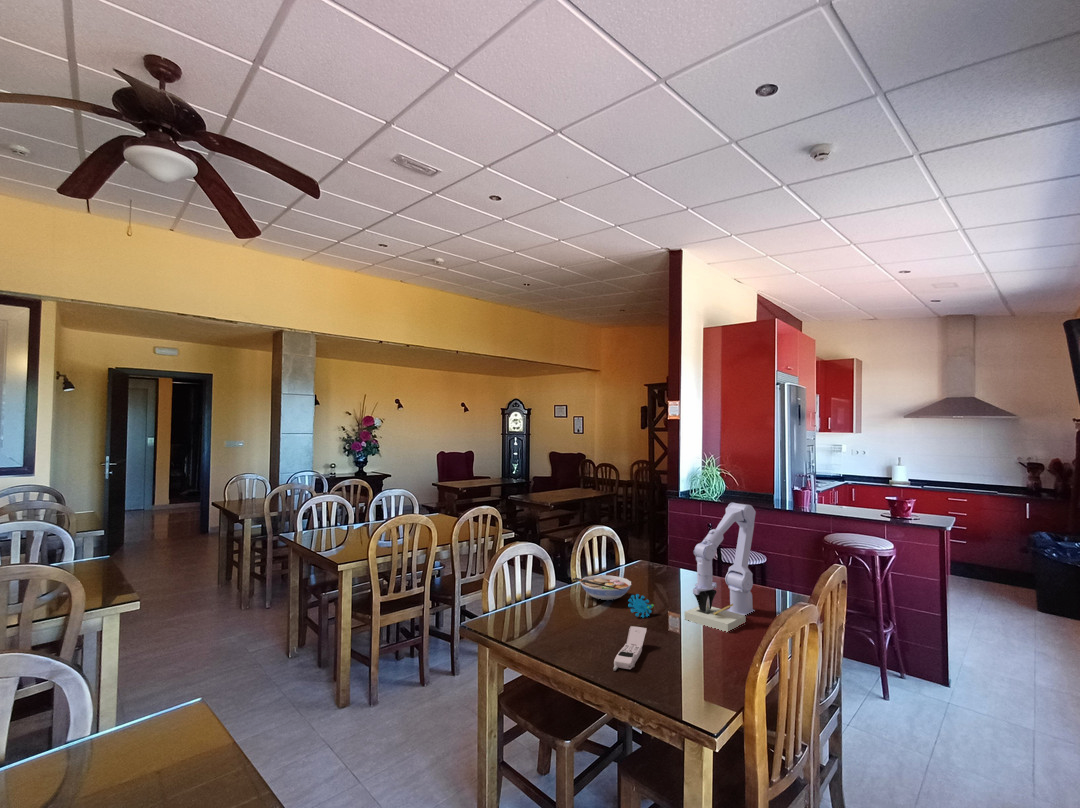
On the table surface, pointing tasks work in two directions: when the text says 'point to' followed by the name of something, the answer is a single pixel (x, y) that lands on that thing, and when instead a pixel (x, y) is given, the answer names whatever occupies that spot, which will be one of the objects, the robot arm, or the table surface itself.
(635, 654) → the mobile phone
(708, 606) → the peg
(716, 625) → the cream rectangular slab
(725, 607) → the latch
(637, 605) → the blue spiky blob
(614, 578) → the ramen bowl
